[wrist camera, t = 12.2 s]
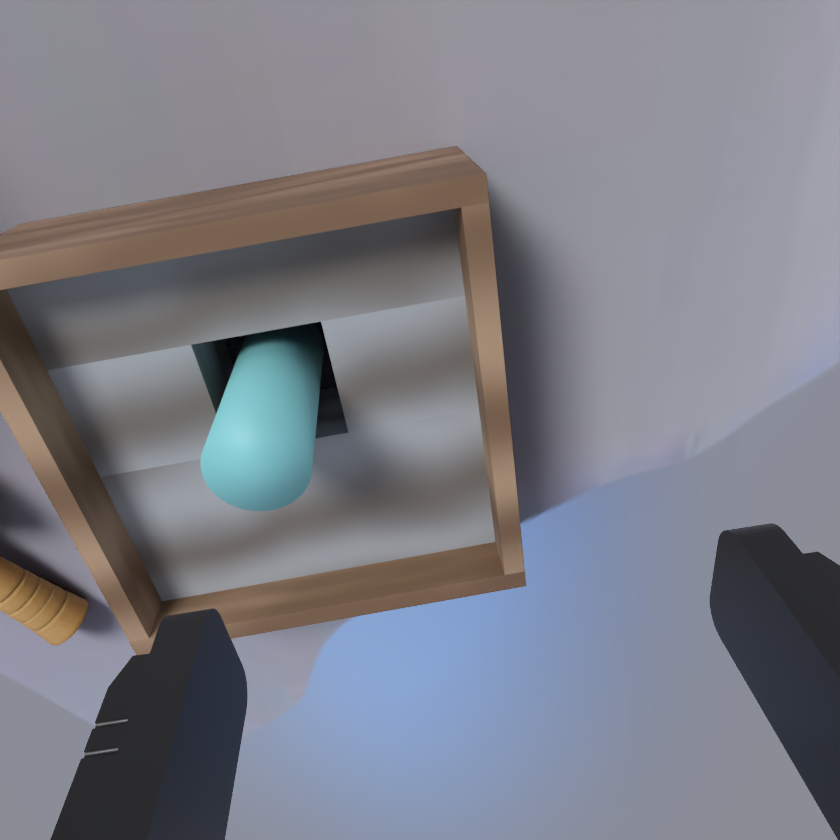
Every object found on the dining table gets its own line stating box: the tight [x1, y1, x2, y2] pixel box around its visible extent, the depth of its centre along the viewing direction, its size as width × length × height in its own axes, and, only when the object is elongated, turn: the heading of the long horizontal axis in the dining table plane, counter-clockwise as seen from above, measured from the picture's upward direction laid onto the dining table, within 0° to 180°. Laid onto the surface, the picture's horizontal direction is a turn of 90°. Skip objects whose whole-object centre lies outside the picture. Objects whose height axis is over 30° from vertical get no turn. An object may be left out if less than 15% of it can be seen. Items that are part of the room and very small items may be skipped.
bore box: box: [0, 146, 526, 655], centre depth 31 cm, size 20×20×8 cm
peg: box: [200, 323, 324, 511], centre depth 28 cm, size 4×4×11 cm
